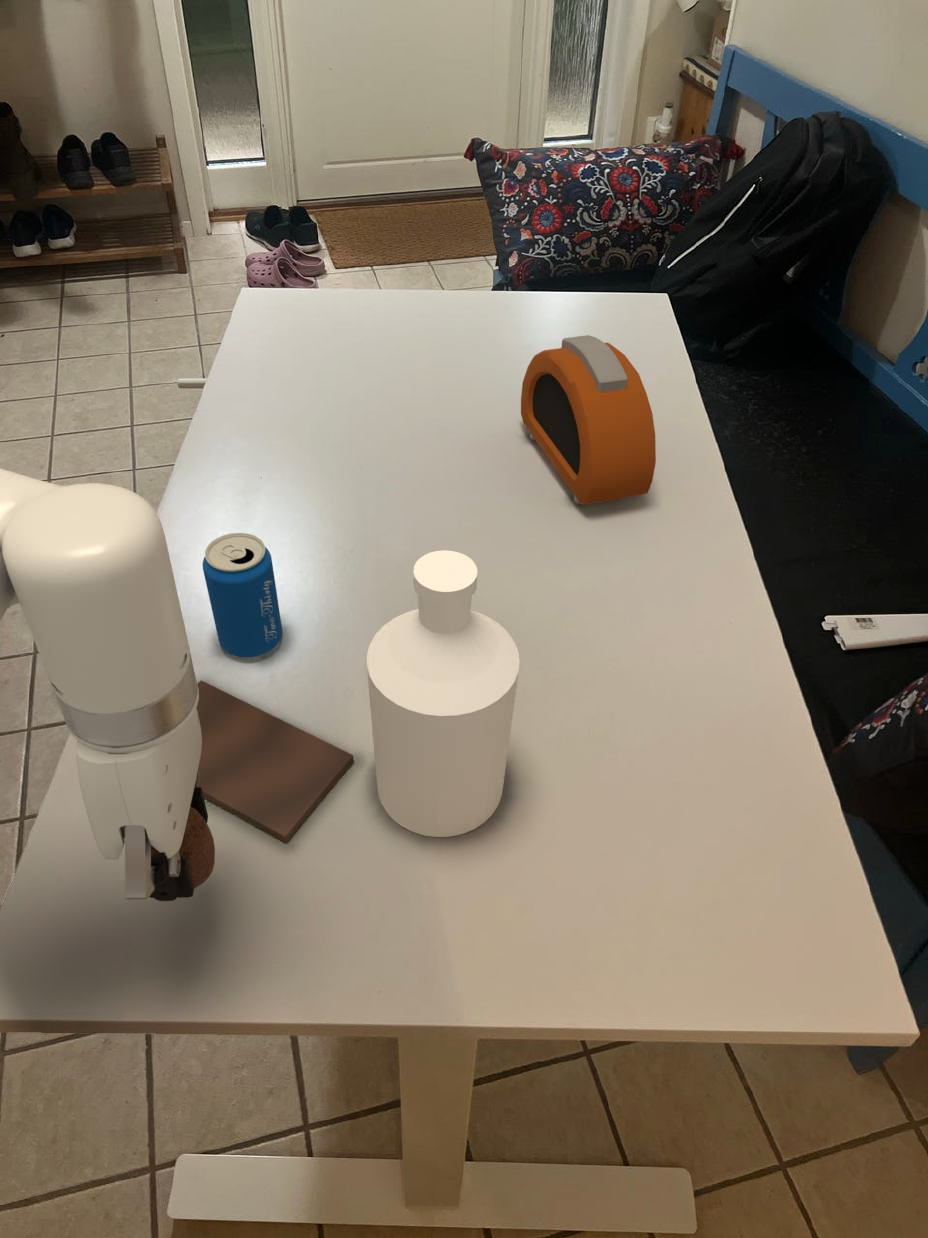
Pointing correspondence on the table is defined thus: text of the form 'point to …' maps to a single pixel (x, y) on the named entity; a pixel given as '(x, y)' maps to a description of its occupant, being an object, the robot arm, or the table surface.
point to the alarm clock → (591, 419)
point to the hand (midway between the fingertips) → (178, 855)
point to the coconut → (196, 848)
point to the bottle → (442, 703)
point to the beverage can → (243, 595)
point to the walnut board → (262, 764)
